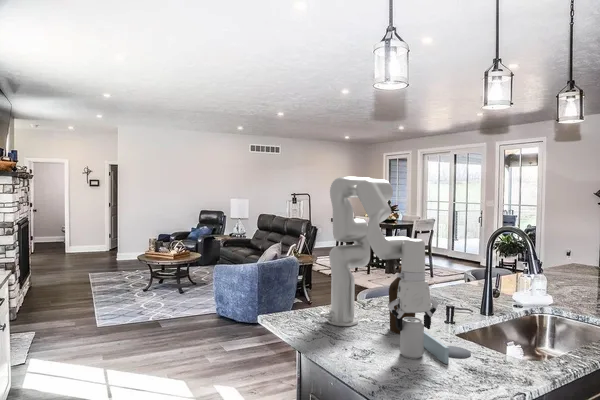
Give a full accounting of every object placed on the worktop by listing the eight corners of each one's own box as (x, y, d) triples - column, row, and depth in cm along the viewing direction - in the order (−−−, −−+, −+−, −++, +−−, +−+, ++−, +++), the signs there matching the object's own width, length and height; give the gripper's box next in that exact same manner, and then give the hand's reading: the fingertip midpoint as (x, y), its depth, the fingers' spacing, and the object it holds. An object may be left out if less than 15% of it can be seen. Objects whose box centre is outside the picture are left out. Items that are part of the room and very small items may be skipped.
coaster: (448, 359, 135) (448, 357, 135) (433, 347, 145) (433, 346, 145) (477, 357, 137) (477, 356, 137) (460, 346, 147) (460, 345, 147)
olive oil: (413, 336, 156) (414, 269, 156) (385, 332, 160) (386, 267, 160) (418, 328, 166) (419, 265, 165) (391, 324, 170) (392, 263, 170)
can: (419, 351, 142) (419, 315, 142) (426, 359, 134) (427, 322, 134) (397, 351, 142) (397, 315, 141) (403, 359, 134) (404, 322, 134)
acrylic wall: (444, 363, 132) (445, 347, 131) (421, 345, 147) (421, 331, 147) (448, 363, 132) (448, 347, 132) (424, 345, 147) (424, 330, 147)
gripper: (392, 279, 132) (393, 333, 132) (443, 277, 135) (443, 330, 135) (383, 275, 140) (384, 326, 139) (432, 273, 143) (432, 324, 143)
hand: (413, 328), depth 137 cm, fingers open, 9 cm apart
